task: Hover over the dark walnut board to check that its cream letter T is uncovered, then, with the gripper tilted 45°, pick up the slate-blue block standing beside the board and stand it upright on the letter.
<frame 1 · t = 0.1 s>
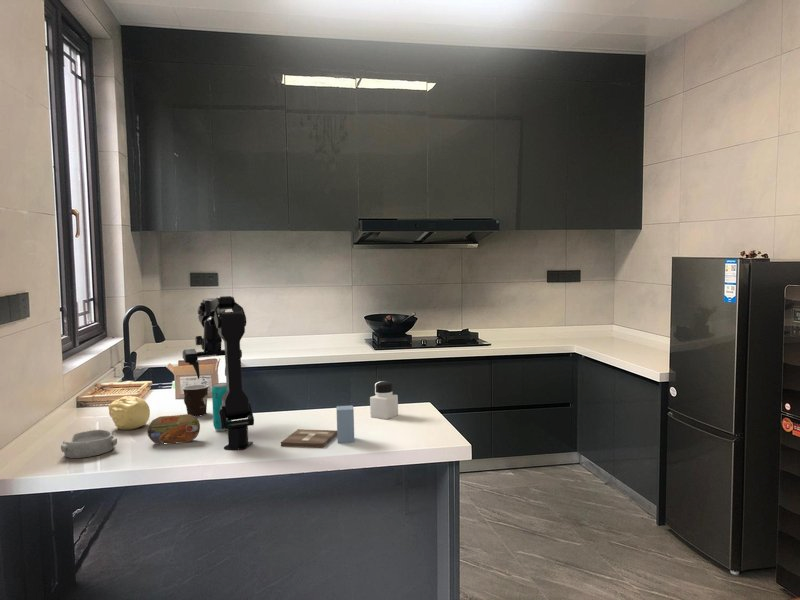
hand: (212, 376, 212), 15 cm above the countertop, tool pointing down, fingers open, 9 cm apart
tin: (175, 442, 189), on the countertop
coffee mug: (193, 415, 222), on the countertop
dish: (90, 452, 181), on the countertop
slate-blue block: (345, 440, 186), on the countertop
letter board: (310, 440, 187), on the countertop
beverage can: (222, 430, 202), on the countertop
medicine bottle: (384, 416, 214), on the countertop
sculpture: (131, 428, 207), on the countertop
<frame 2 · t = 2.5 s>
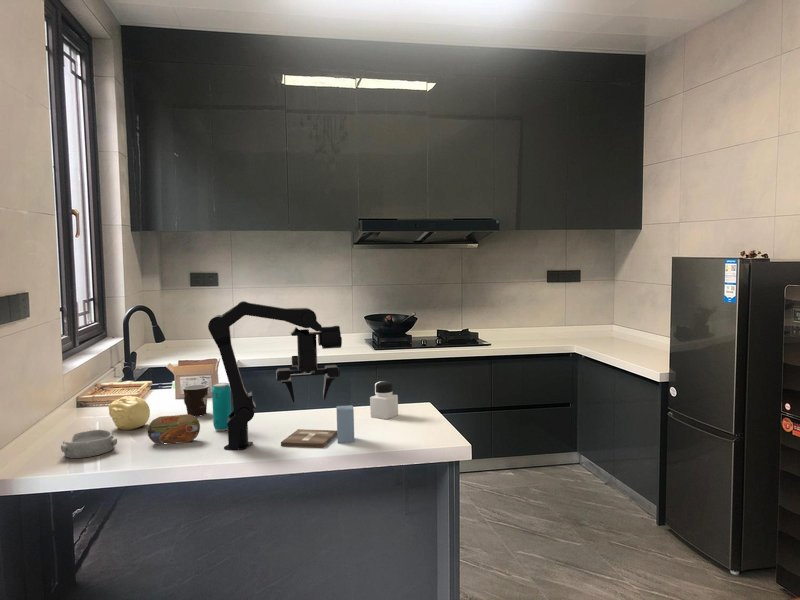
hand: (308, 400, 187), 12 cm above the countertop, tool pointing down, fingers open, 9 cm apart
nothing on the countertop moved.
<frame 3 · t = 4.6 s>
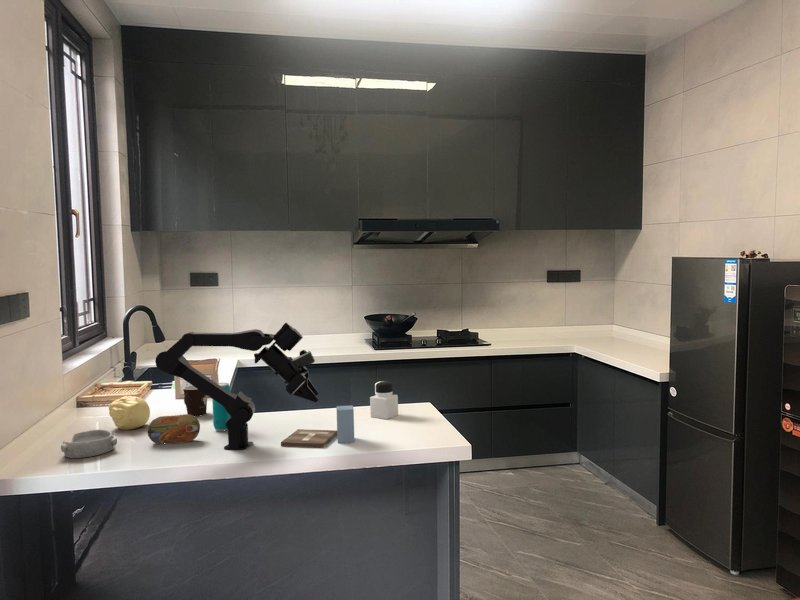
hand: (317, 397, 184), 13 cm above the countertop, tool tilted 45°, fingers open, 9 cm apart
nothing on the countertop moved.
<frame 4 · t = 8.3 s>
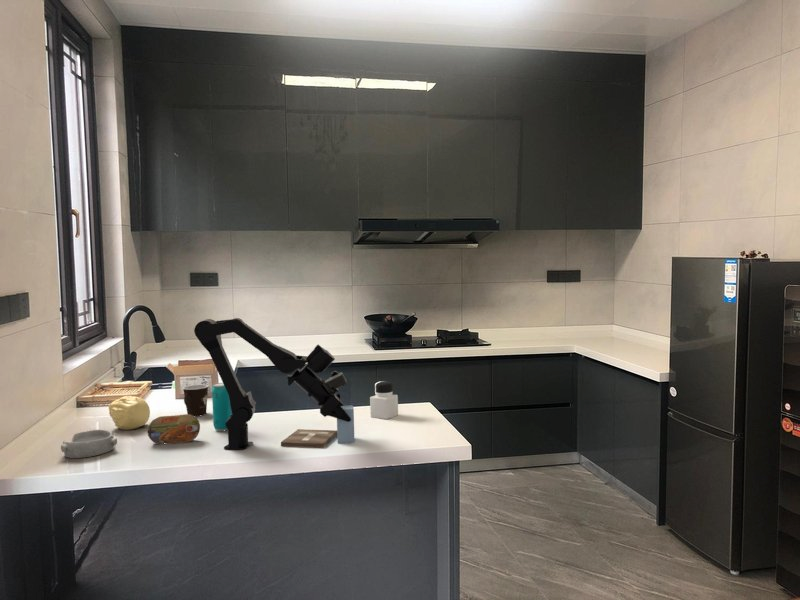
hand: (349, 418, 186), 7 cm above the countertop, tool tilted 45°, fingers closed on slate-blue block, 5 cm apart
slate-blue block: (345, 440, 186), on the countertop, touching gripper
everything else where it was.
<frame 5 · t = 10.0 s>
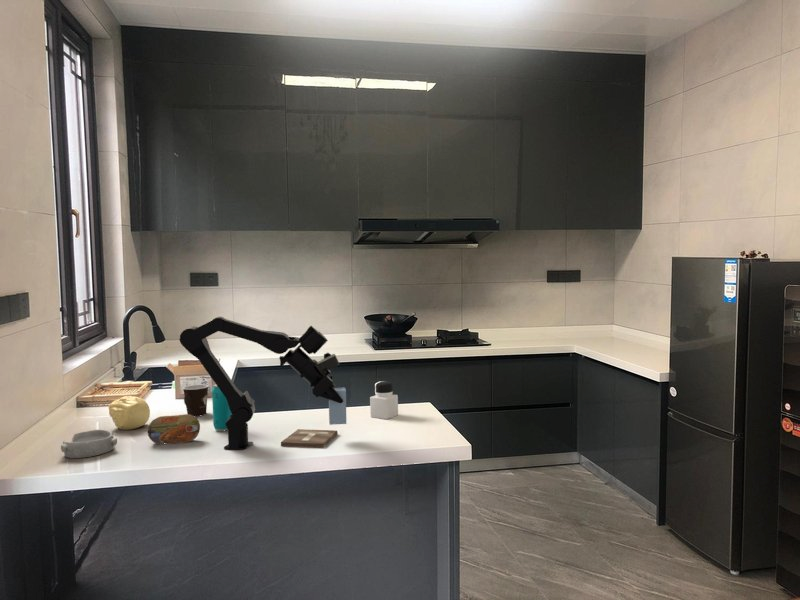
hand: (341, 400, 186), 12 cm above the countertop, tool tilted 45°, fingers closed on slate-blue block, 5 cm apart
slate-blue block: (337, 422, 186), point 6 cm above the countertop, touching gripper
everything else where it was.
when the fingers open (9 cm above the countertop, at t = 12.1 s): slate-blue block drops 1 cm, resting on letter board.
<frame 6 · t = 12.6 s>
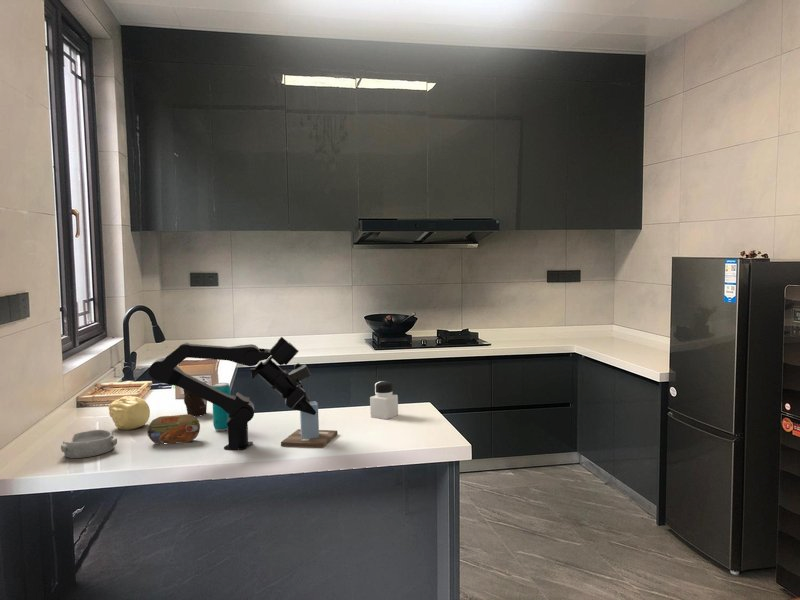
hand: (313, 410, 187), 9 cm above the countertop, tool tilted 45°, fingers open, 9 cm apart
slate-blue block: (309, 436, 187), point 1 cm above the countertop, touching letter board
everything else where it was.
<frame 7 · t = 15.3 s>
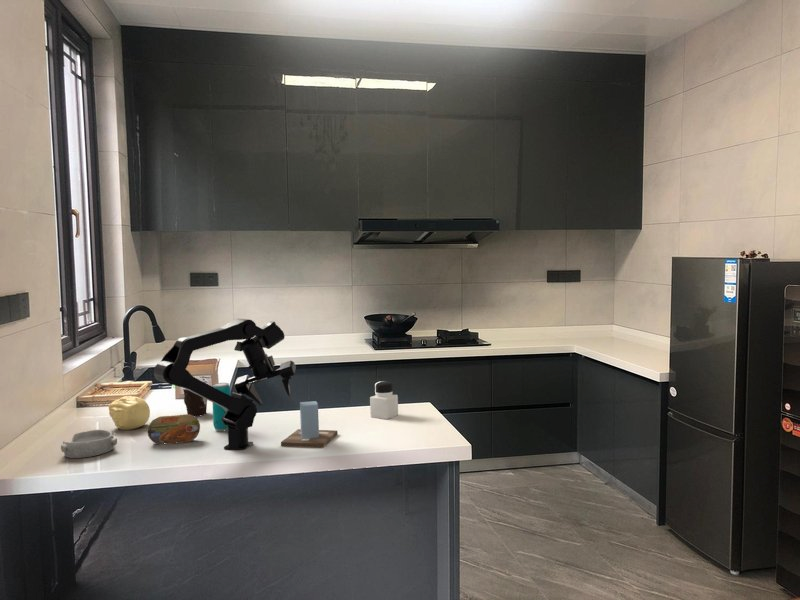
hand: (275, 400, 191), 12 cm above the countertop, tool tilted 25°, fingers open, 9 cm apart
nothing on the countertop moved.
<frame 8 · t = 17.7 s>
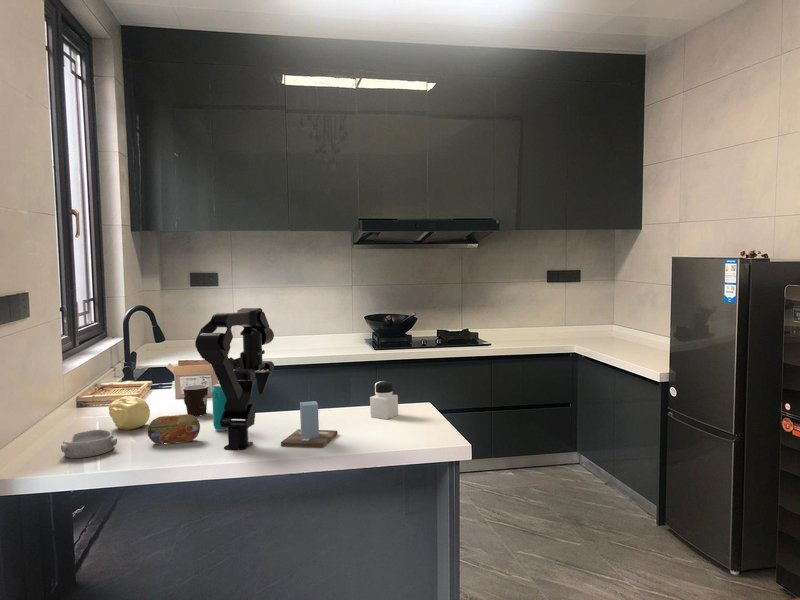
hand: (254, 397, 193), 12 cm above the countertop, tool pointing down, fingers open, 9 cm apart
nothing on the countertop moved.
at the end: slate-blue block 0.0 cm off-centre on the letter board, point 1.2 cm above the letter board's base; slate-blue block tilted 0°; the gripper is holding nothing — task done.
